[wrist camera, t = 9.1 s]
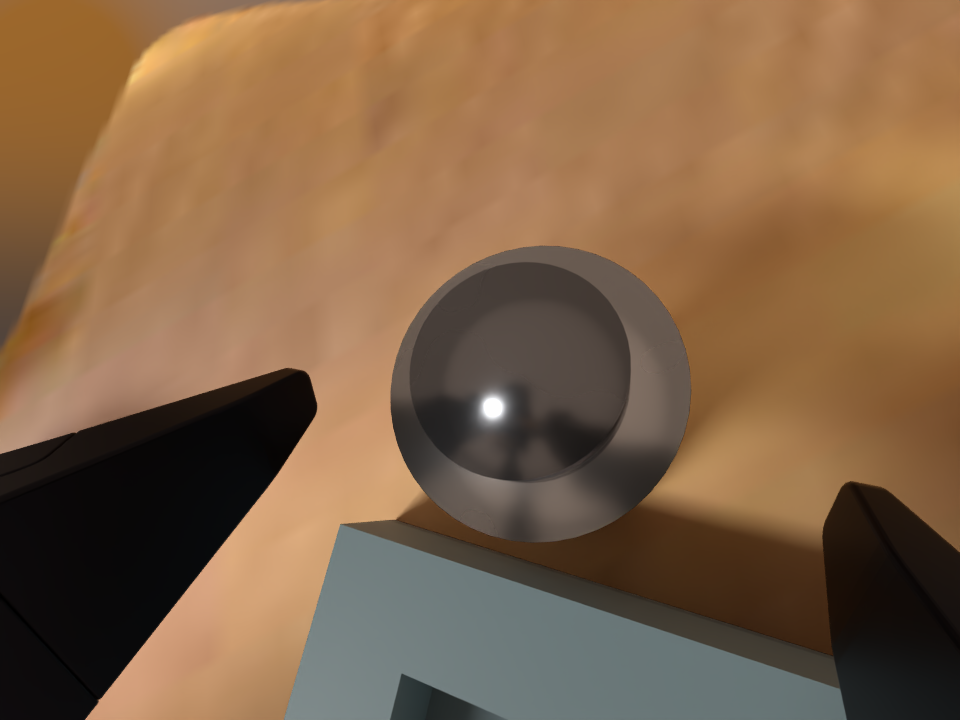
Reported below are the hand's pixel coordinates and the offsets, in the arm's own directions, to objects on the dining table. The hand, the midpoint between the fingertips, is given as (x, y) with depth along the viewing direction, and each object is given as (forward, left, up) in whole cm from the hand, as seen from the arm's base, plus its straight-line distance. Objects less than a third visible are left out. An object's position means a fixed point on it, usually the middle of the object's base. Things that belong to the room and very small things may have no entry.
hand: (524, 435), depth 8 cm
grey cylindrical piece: (+1, 0, -8) cm, 9 cm away
